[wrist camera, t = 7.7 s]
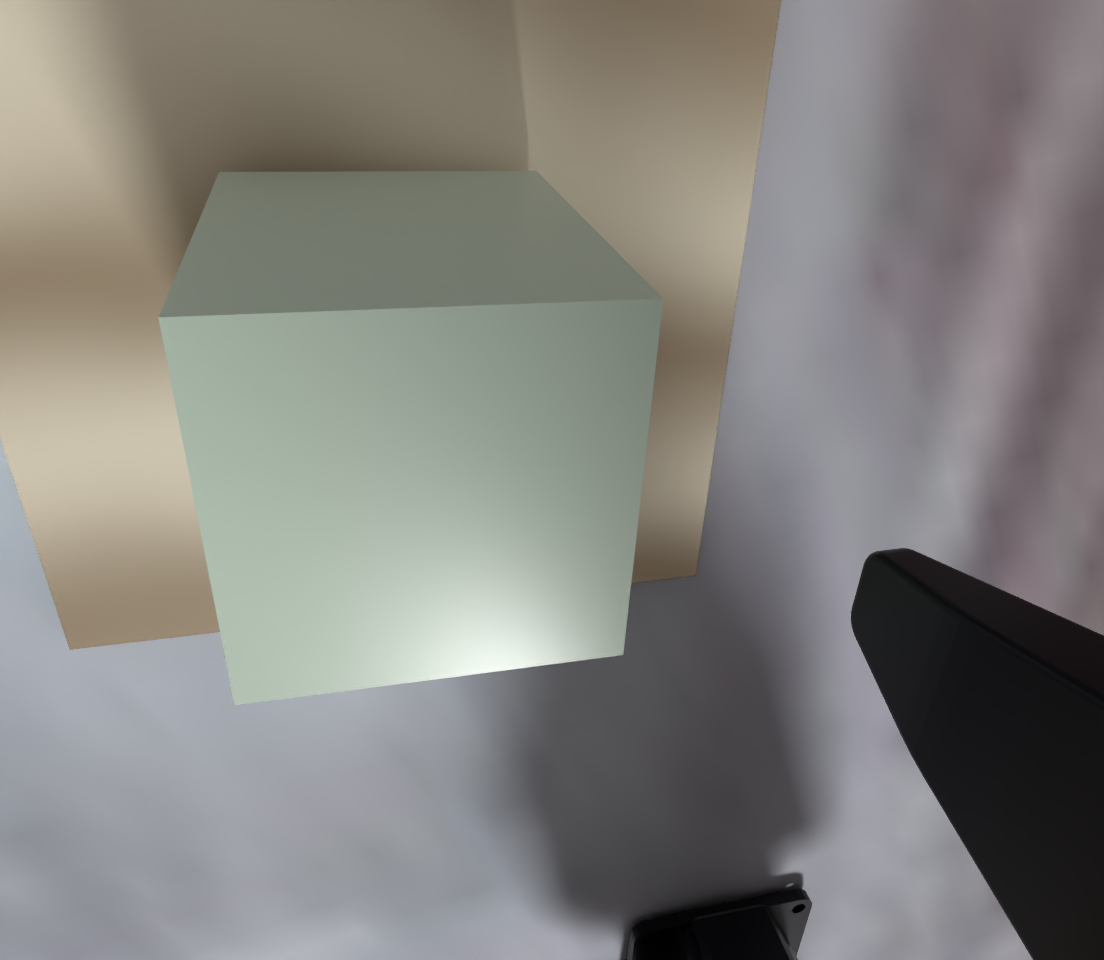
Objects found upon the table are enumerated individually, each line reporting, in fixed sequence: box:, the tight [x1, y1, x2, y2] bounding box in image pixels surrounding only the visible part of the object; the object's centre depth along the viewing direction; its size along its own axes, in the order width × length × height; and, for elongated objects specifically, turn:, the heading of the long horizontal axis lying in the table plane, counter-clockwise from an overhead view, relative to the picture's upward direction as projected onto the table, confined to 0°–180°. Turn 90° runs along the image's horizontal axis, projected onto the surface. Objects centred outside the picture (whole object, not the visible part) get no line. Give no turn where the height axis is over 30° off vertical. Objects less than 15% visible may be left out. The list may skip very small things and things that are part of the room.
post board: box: [0, 0, 781, 650], centre depth 16 cm, size 14×14×1 cm
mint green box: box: [158, 171, 663, 705], centre depth 13 cm, size 5×5×7 cm
